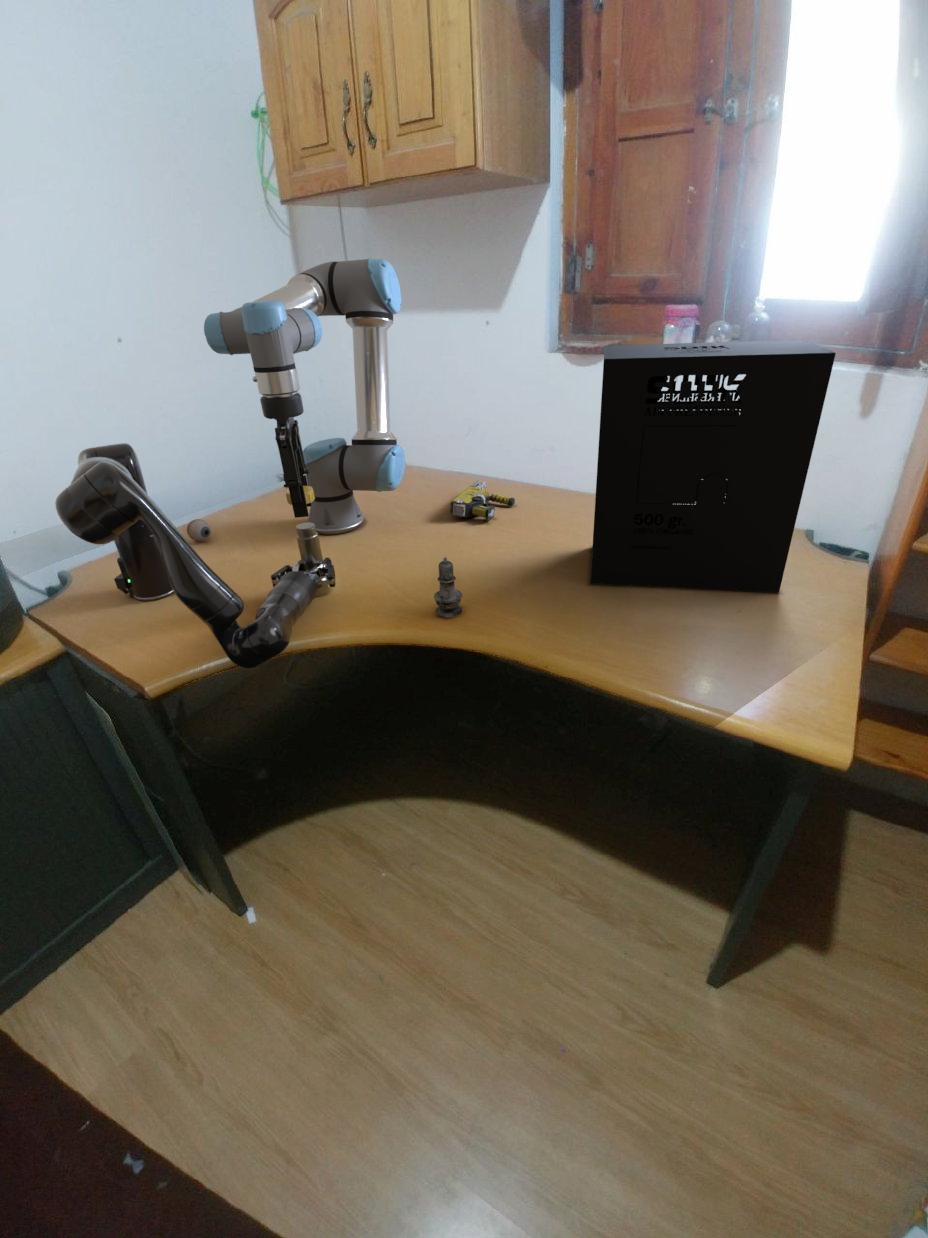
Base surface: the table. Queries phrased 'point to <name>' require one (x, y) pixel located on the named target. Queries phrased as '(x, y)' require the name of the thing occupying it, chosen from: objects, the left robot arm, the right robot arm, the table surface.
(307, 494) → the lid
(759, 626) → the table surface
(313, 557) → the jar
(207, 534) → the eyeball
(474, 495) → the toy gun
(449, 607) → the dark grey chess piece
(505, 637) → the table surface
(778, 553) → the cardboard box
